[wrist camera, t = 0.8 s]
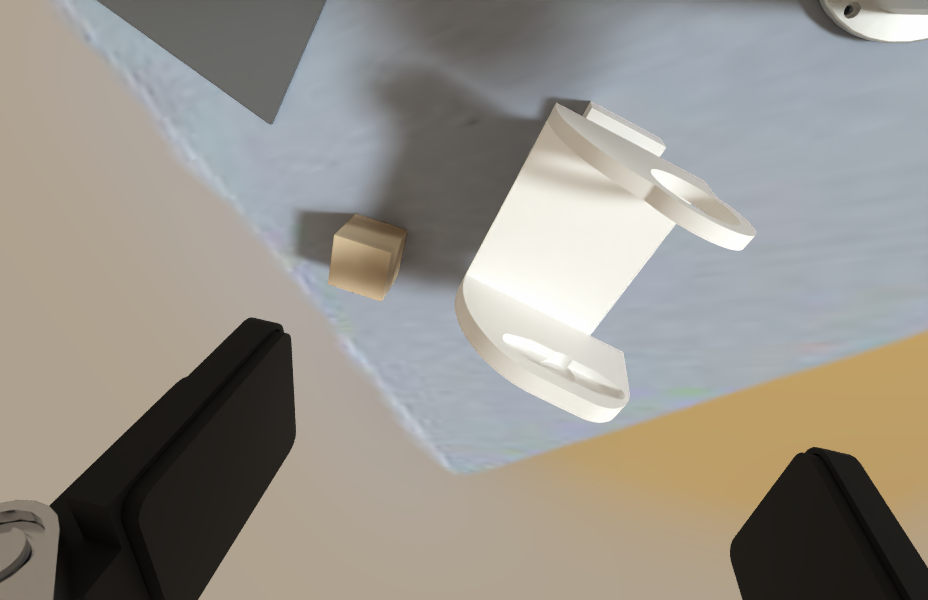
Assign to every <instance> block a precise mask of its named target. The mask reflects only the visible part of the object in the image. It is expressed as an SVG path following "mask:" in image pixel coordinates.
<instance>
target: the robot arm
mask: <svg viewBox="0 0 928 600" xmlns="http://www.w3.org/2000/svg"><path fill="white" fill-rule="evenodd" d="M819 2H820V3H821V5H822V7H823V9H824V11H825V13H826V14H827V15H828V16H829V17H830V18H831V19H832V20H833V21H834V23H835V24H836V25H837V26H839V27H841V28H842V29H844V30H845V31H847V32H848V33H850V34H851V35H854V36H857V37H860V38H863V39H866V40H869V41H877V42H883V43H910V42H916V41H922V40H927V39H928V0H819ZM847 6H849V7H850V9H849V12H848V13H847V14H845V15H844V10H845V8H846V7H847ZM295 436H296V424H295V405H294V385H293V368H292V347H291V337H290V335H289V334H287V333H284V330H283V327H282V325H280V324H278V323H274V322H270V321H265V320H261V319H256V318H248V319H246V320H245V321H244V322H243V323H242V324H241V325H240V326H239V327H238V328H237V329H236V330H235V331H234V332H233V333H232V334H231V335H229V336H228V337H227V338H226V339H225V340H224V341H223V342H222V343H221V344H220V345H219V346H218V347H217V348H216V349H215V350H214V351H213V352H212V353H211V354H210V355H209V356H208V357H207V358H206V359H205V360H204V361H203V362H202V363H201V364H200V365H199V366H198V367H197V368H196V369H195V370H194V371H193V372H192V373H191V374H190V375H189V376H188V377H185V378H183V379H181V380H180V381H179V382H177V383H176V384H175V385H174V386H173V387H172V388H171V389H170V390H169V391H168V392H167V393H166V394H165V395H163V396H162V397H161V399H159V400H158V401H157V402H156V403H155V404H154V405H153V406H152V407H151V408H150V409H149V410H148V411H147V412H146V413H145V414H144V415H143V416H142V417H141V418H140V419H139V420H138V421H137V422H136V423H134V424H133V425H132V426H131V427H130V428H129V429H128V430H127V431H126V432H125V433H124V434H123V435H122V436H121V437H120V438H119V439H118V440H117V441H116V442H115V443H114V444H113V445H112V446H111V447H110V448H109V449H108V450H107V451H105V453H103V454H102V455H101V456H100V457H99V458H98V459H97V460H96V461H95V462H94V463H93V464H92V465H91V466H90V467H89V468H88V469H87V470H86V471H85V472H84V473H83V474H82V475H81V476H80V477H79V478H78V479H76V480H75V482H73V483H72V484H71V485H70V486H69V487H68V488H67V489H66V490H65V491H64V492H63V493H62V494H61V495H60V496H59V497H58V498H57V499H56V500H55V501H54V502H53V503H52V504H51V505H50V506H48V505H45V504H43V503H40V502H37V501H28V500H15V501H9V502H4V503H0V600H198V599H199V597H200V596H201V594H202V592H203V591H204V589H205V587H206V586H207V584H208V583H209V581H210V579H211V578H212V576H213V575H214V573H215V571H216V570H217V568H218V567H219V565H220V563H221V562H222V560H223V558H224V557H225V555H226V554H227V552H228V550H229V549H230V547H231V546H232V544H233V542H234V541H235V539H236V538H237V536H238V534H239V533H240V531H241V529H242V528H243V526H244V524H245V523H246V521H247V520H248V518H249V516H250V515H251V513H252V512H253V510H254V508H255V507H256V505H257V504H258V502H259V500H260V499H261V497H262V496H263V494H264V492H265V491H266V489H267V488H268V486H269V484H270V483H271V481H272V479H273V478H274V476H275V475H276V473H277V471H278V470H279V468H280V467H281V465H282V463H283V462H284V460H285V459H286V457H287V455H288V454H289V452H290V450H291V448H292V446H293V443H294V440H295ZM730 557H731V562H732V566H733V569H734V573H735V575H736V579H737V582H738V586H739V589H740V592H741V596H742V599H743V600H928V568H927V566H926V564H925V563H924V561H923V560H922V558H921V557H920V555H919V554H918V552H917V550H916V549H915V547H914V546H913V544H912V543H911V541H910V540H909V538H908V536H907V535H906V533H905V532H904V530H903V529H902V527H901V526H900V524H899V522H898V521H897V520H896V518H895V516H894V515H893V513H892V512H891V510H890V509H889V507H888V506H887V504H886V502H885V501H884V499H883V498H882V496H881V495H880V493H879V491H878V490H877V488H876V487H875V485H874V484H873V482H872V481H871V479H870V478H869V476H868V474H867V473H866V471H865V470H864V468H863V467H862V465H861V464H860V462H859V461H858V460H857V459H856V458H855V457H853V456H851V455H849V454H844V453H840V452H836V451H831V450H827V449H822V448H817V447H813V448H810V449H808V450H807V451H806V452H805V453H799V454H797V455H796V456H795V457H794V458H793V460H792V461H791V462H790V464H789V465H788V466H787V468H786V469H785V470H784V472H783V473H782V474H781V476H780V477H779V478H778V480H777V481H776V482H775V484H774V485H773V486H772V488H771V489H770V491H769V492H768V493H767V494H766V496H765V497H764V499H763V500H762V501H761V503H760V504H759V505H758V507H757V508H756V509H755V511H754V512H753V513H752V515H751V516H750V517H749V519H748V520H747V521H746V523H745V524H744V525H743V527H742V528H741V530H740V531H739V532H738V534H737V535H736V536H735V538H734V539H733V541H732V543H731V548H730Z"/></svg>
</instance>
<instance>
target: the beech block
mask: <svg viewBox="0 0 928 600" xmlns="http://www.w3.org/2000/svg"><path fill="white" fill-rule="evenodd" d="M407 231H408V230H405V229H402V228H399V227H396V226H393V225H390V224H387V223H384V222H381V221H378V220H374V219H371V218H368V217H365V216H362V215H359V214H355V215H354V216H353V217H352V218H351V219H350V220H349V221H348V222H347V223H346V224H345V225H344V226H343V227H342V228H341V229H340V230H339V231H338V232H336V233H335V234H334V240H333V248H332V256H331V264H330V272H329V280H328V284H329V285H332V286H335V287H338V288H341V289H344V290H347V291H350V292H354V293H357V294H360V295H363V296H366V297H369V298H372V299H375V300H378V301H381V302H382V300H383V298H384V297H385V295H386V294H387V292H388V291H389V289H390V287H391V286H392V284H393V283H394V281H395V280H396V278H397V276H398V273H399V268H400V264H401V259H402V254H403V250H404V245H405V241H406V236H407Z"/></svg>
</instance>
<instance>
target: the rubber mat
mask: <svg viewBox="0 0 928 600" xmlns="http://www.w3.org/2000/svg"><path fill="white" fill-rule="evenodd" d="M98 1H99V2H101V3H102V4H103V5H105V6H106V7H108V8H109V9H110V10H112V11H113V12H115V13H116V14H117V15H119V16H120V17H121V18H123V19H124V20H126V21H127V22H128V23H130V24H131V25H133V26H134V27H135V28H137V29H138V30H140V31H141V32H142V33H144V34H145V35H147V36H148V37H149V38H151V39H152V40H154V41H155V42H156V43H158V44H159V45H160V46H162V47H163V48H165V49H166V50H167V51H169V52H170V53H172V54H173V55H174V56H176V57H177V58H179V59H180V60H181V61H183V62H184V63H186V64H187V65H188V66H190V67H191V68H193V69H194V70H195V71H197V72H198V73H199V74H201V75H202V76H204V77H205V78H206V79H208V80H209V81H211V82H212V83H213V84H215V85H216V86H218V87H219V88H220V89H222V90H223V91H225V92H226V93H227V94H229V95H230V96H232V97H233V98H234V99H236V100H237V101H239V102H240V103H241V104H243V105H244V106H245V107H247V108H248V109H250V110H251V111H252V112H254V113H255V114H257V115H258V116H259V117H261V118H262V119H264V120H265V121H266V122H268V123H269V124H273V121H274V119H275V117H276V114H277V112H278V110H279V107H280V105H281V103H282V101H283V98H284V96H285V94H286V91H287V89H288V87H289V85H290V82H291V80H292V78H293V75H294V73H295V71H296V68H297V66H298V64H299V62H300V59H301V57H302V55H303V52H304V50H305V48H306V45H307V43H308V41H309V39H310V36H311V34H312V32H313V29H314V27H315V25H316V23H317V20H318V18H319V16H320V13H321V11H322V9H323V6H324V4H325V2H326V0H98Z"/></svg>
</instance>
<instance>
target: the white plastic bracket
mask: <svg viewBox="0 0 928 600" xmlns="http://www.w3.org/2000/svg"><path fill="white" fill-rule="evenodd" d="M665 148H666V146H665V145H664V143H663V142H662V140H661V139H660V138H659V137H657V136H656V135H654V134H652V133H650V132H648V131H646V130H644V129H642V128H641V127H639V126H637V125H635V124H633V123H631V122H629V121H627V120H626V119H624V118H622V117H620V116H618V115H616V114H614V113H612V112H610V111H609V110H607V109H605V108H603V107H601V106H599V105H597V104H595V103H594V102H592V101H590V103H589V105H588V106H587V108H586V110H585V112H584V113H583V115H582V116H581V115H579V114H577V113H575V112H573V111H572V110H570V109H568V108H566V107H564V106H562V105H560V104H558V103H556V104H555V106H554V108H553V110H552V112H551V114H550V116H549V117H548V119H547V121H546V123H545V125H544V127H543V129H542V131H541V133H540V134H539V136H538V138H537V140H536V142H535V144H534V146H533V148H532V150H531V151H530V153H529V155H528V157H527V159H526V161H525V163H524V165H523V167H522V168H521V170H520V172H519V174H518V176H517V178H516V180H515V182H514V184H513V185H512V187H511V189H510V191H509V193H508V195H507V197H506V199H505V201H504V203H503V204H502V206H501V208H500V210H499V212H498V214H497V216H496V218H495V220H494V221H493V223H492V225H491V227H490V229H489V231H488V233H487V235H486V237H485V238H484V240H483V242H482V244H481V246H480V248H479V250H478V252H477V254H476V255H475V257H474V259H473V261H472V263H471V265H470V267H469V269H468V271H467V272H466V274H465V276H464V278H463V280H462V282H461V284H460V286H459V288H458V291H457V294H456V297H455V311H456V316H457V319H458V322H459V325H460V327H461V329H462V331H463V333H464V334H465V336H466V338H467V339H468V341H469V342H470V344H471V345H472V346H473V348H474V349H475V350H476V351H477V352H478V354H479V355H480V356H481V357H482V358H483V359H484V360H485V361H486V362H487V363H488V364H489V365H490V366H491V367H492V368H494V369H495V370H496V371H497V372H498V373H500V374H501V375H502V376H503V377H505V378H506V379H507V380H509V381H510V382H512V383H513V384H515V385H516V386H518V387H520V388H521V389H523V390H525V391H527V392H529V393H530V394H532V395H534V396H537V397H539V398H541V399H543V400H545V401H547V402H549V403H551V404H553V405H555V406H557V407H559V408H562V409H564V410H566V411H568V412H570V413H572V414H574V415H576V416H578V417H580V418H583V419H585V420H588V421H592V422H598V423H602V422H608V421H610V420H612V419H613V418H614V417H615V416H616V415H617V414H618V413H619V411H620V410H621V409H622V408H623V407H624V406H625V405H626V404H627V403H628V401H629V397H630V392H629V385H628V379H627V372H626V366H625V359H624V353H623V352H622V351H620V350H618V349H616V348H614V347H612V346H610V345H608V344H606V343H604V342H602V341H600V340H598V339H596V338H594V337H592V336H590V335H591V333H592V332H593V331H594V330H595V328H596V327H597V326H598V324H599V323H600V322H601V320H602V319H603V318H604V317H605V315H606V314H607V313H608V311H609V310H610V309H611V308H612V306H613V305H614V304H615V302H616V301H617V300H618V298H619V297H620V296H621V295H622V293H623V292H624V291H625V289H626V288H627V287H628V285H629V284H630V283H631V282H632V280H633V279H634V278H635V276H636V275H637V274H638V272H639V271H640V270H641V269H642V267H643V266H644V265H645V263H646V262H647V261H648V259H649V258H650V257H651V256H652V254H653V253H654V252H655V250H656V249H657V248H658V246H659V245H660V244H661V243H662V241H663V240H664V239H665V237H666V236H667V235H668V233H669V232H670V231H671V230H672V228H673V227H674V226H675V224H676V223H677V224H678V225H680V226H681V227H683V228H685V229H686V230H688V231H690V232H692V233H694V234H695V235H697V236H699V237H701V238H703V239H705V240H707V241H709V242H712V243H714V244H716V245H719V246H721V247H724V248H727V249H731V250H743V249H744V247H745V246H746V245H747V244H748V243H749V242H750V241H751V240H752V238H753V237H754V236H755V235H756V231H755V229H754V228H753V226H752V225H751V224H750V223H749V222H748V221H747V220H746V219H745V218H744V217H743V216H741V215H740V214H739V213H738V212H737V211H735V210H734V209H733V208H732V207H730V206H729V205H727V204H726V203H725V202H723V201H722V200H720V199H719V198H717V197H716V195H715V194H714V193H713V191H712V190H711V189H710V187H709V186H708V185H707V183H706V182H705V181H704V180H702V179H700V178H698V177H696V176H694V175H692V174H691V173H689V172H687V171H685V170H683V169H681V168H679V167H677V166H675V165H674V164H672V163H670V162H668V161H666V160H664V159H662V158H660V156H661V154H662V153H663V151H664V150H665ZM691 204H693V205H695V206H696V207H698V208H699V209H701V210H702V211H704V212H705V213H704V212H702V211H700V210H698V209H697V208H695V207H693V206H692V205H691Z"/></svg>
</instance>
